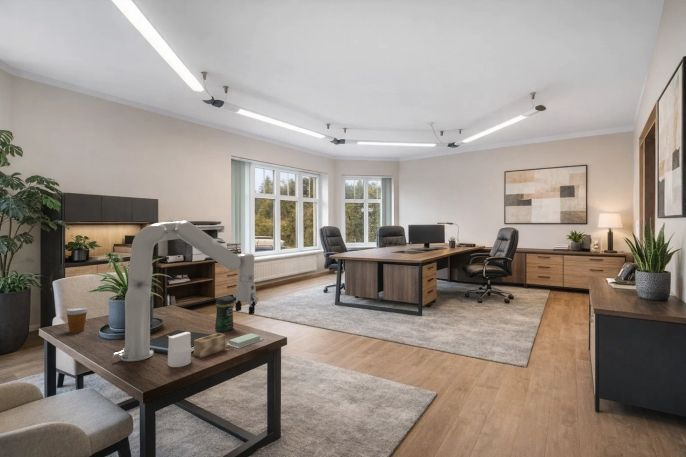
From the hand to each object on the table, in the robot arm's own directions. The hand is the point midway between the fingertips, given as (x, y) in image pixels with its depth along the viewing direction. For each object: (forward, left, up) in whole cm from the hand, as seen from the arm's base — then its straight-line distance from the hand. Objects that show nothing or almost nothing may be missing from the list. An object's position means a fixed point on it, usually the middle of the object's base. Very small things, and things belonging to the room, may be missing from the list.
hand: (244, 312), depth 179 cm
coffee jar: (+7, +25, -15) cm, 30 cm away
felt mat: (0, 0, -15) cm, 15 cm away
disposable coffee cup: (-42, +85, -15) cm, 96 cm away
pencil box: (-19, +2, -15) cm, 24 cm away
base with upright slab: (-34, +2, -15) cm, 37 cm away
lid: (0, 0, -15) cm, 15 cm away
